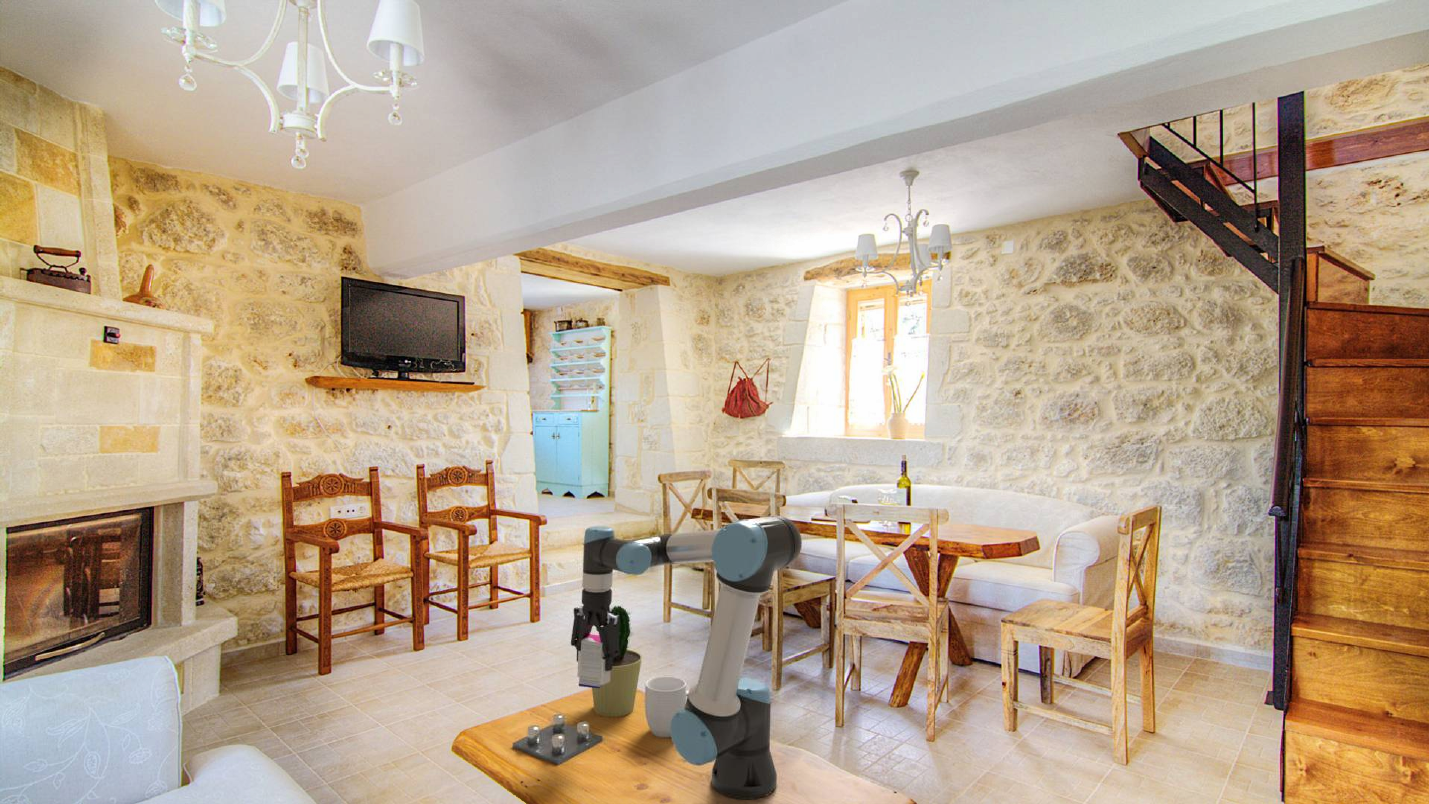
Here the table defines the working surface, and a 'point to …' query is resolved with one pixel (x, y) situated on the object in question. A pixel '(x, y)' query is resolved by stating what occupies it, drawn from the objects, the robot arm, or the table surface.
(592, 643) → the supplement box
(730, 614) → the robot arm
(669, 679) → the mug
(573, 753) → the chassis
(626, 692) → the potted cactus
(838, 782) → the table surface
